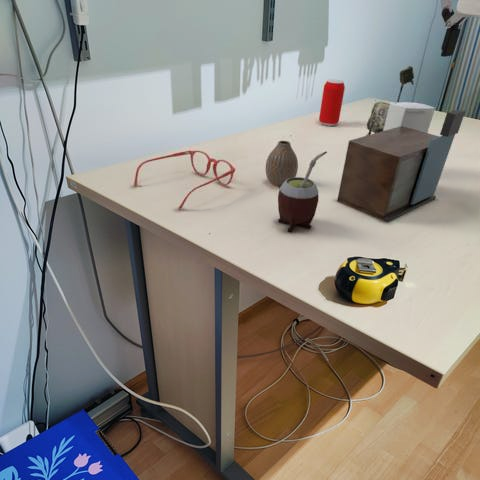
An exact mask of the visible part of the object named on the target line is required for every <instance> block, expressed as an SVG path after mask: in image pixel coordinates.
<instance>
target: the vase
mask: <svg viewBox="0 0 480 480" xmlns="http://www.w3.org/2000/svg"><path fill="white" fill-rule="evenodd" d="M298 171H299V161H298V157H297V155H296V153H295V150H294V149H293V148H292V145H291V141H288V140H279V141H278V142H277V144H276V146H274V148H273V149H272V150H271V151H270V153H269V155H268V156H267V159H266V162H265V176H266V179H267V181H268V182H269V184H271V185H272V186H274V187H278V188H280V187H281V186H282V184H283V183H284V182H285V181H286V180H287V179H289V178H293V177H297V174H298Z"/></svg>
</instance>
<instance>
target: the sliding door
mask: <svg viewBox="0 0 480 480" xmlns="http://www.w3.org/2000/svg"><path fill="white" fill-rule="evenodd" d="M465 114H466V111H465V110H461V109H455V110H451V111H447V112H446V114H445V118H444V120H443V124H442V126H441V129H440V133H439V136H440V137H437V138H434V139H431V140H430V143H429V146H428V150H427V153H426V156H425V159H424V162H423V165H422V169H421V172H420V175H419V178H418V181H417V184H416V188H415V191H414V194H413V197H412V200H411V203H410V204H412V205H413V204H415V203H417V202H419V201H421V200H424V199H426V198H428V197H430V196H432V195H435V193H436V190H437V187H438V185H439V182H440V179H441V176H442V173H443V171H444V168H445V164H446V161H447V160H448V157H449V153H450V150H451V147H452V145H453V142H454V139H455V137H456V135H458V134H459V131H460V129H461V125H462V124H463V123H462V122H463V120H464V118H465V117H464V116H465Z"/></svg>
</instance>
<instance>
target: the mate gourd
mask: <svg viewBox="0 0 480 480" xmlns="http://www.w3.org/2000/svg"><path fill="white" fill-rule="evenodd" d="M326 154H328V151H327V150H325V151H323V152H321V153H319V154H317V155H316V156H315V157H313V158H312V159H311V161H310V163H309V167H308V168H307V172H306V174H305V177H300V176H296V177H293V178H289V179H287V180H286V181H285V182H284V183H283V184H282V186H281V187H279V191H278V194H277V209H278V215H279V218H278V219H277V222H278V223H279V224H284V225H287V226H288V225H289V227H288V228H287V232H288V233H293V232H294V230H295V228H301V229H306V230H311V229H312V225H311V224H312V222H313V220H314V217H315V215H316V213H317V212H316V211H317V208H318V204H319V190H318V187H317V184H316V183H315V182H314V181H313V180H312V179H309V177H310V175H311V173H312V170H313V168H314V167H315V165H316V164H317V161H318V160H319V159H320V158H322V157H323V156H325V155H326Z"/></svg>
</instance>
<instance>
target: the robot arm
mask: <svg viewBox="0 0 480 480" xmlns="http://www.w3.org/2000/svg"><path fill="white" fill-rule="evenodd" d="M453 2H454V0H440V7H441V17H442V19H443V21H444V27H445V30H446V31H445V34H444V38H443V40H442V45H441V47H440V49H441V52H440V57H444V58H445V57H451V56H453V55H454V53H455V49H456V46H457V44H458V40H459V37H460V33H461V28H460V26H461V25H462V24H463V23H464V22H465V21H466V20H467V19H468V18H474V19H475V18H476V19H480V0H457V4H456V12H455V11H454V9H453Z"/></svg>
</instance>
